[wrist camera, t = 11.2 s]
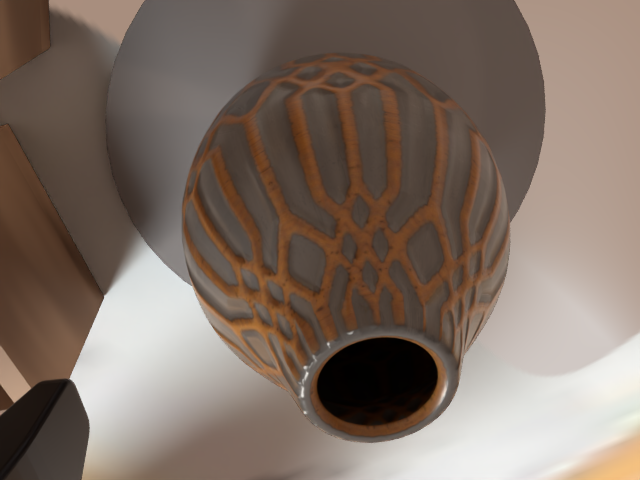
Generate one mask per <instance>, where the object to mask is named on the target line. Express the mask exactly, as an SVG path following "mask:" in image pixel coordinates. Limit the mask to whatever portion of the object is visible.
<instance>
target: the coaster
mask: <svg viewBox="0 0 640 480" xmlns="http://www.w3.org/2000/svg"><path fill="white" fill-rule="evenodd" d="M325 53H356V54H365V55H371V56H376V57H380V58H384V59H387V60H390V61H393V62H396V63H398V64H401V65H403V66H405V67H407V68H410V69H412V70H414V71H415V72H417V73H419V74H420V75H422V76H424V77H425V78H427V79H428V80H430V81H431V82H433V83H434V84H435V85H437V86H438V87H440V88H441V89H442V90H443V91H444V92H445V93H447V94H448V95H449V96H450V97H451V98H452V99H453V100H454V101H455V102H456V103H457V104H458V105H459V106H460V107H461V108H462V109H463V110H464V111H465V112H466V113H467V115H468V116H469V117H470V118H471V120H472V121H473V122H474V124H475V125H476V126H477V127H478V129H479V130H480V132H481V133H482V135H483V136H484V138H485V140H486V142H487V144H488V145H489V147H490V149H491V151H492V154H493V156H494V158H495V161H496V163H497V165H498V168H499V171H500V174H501V177H502V181H503V184H504V188H505V193H506V198H507V203H508V210H509V219H510V222H511V221H512V219H513V218H514V216H515V214H516V213H517V211H518V210H519V207H520V205H521V203H522V201H523V199H524V197H525V195H526V193H527V191H528V189H529V187H530V184H531V181H532V178H533V175H534V173H535V170H536V167H537V164H538V160H539V154H540V150H541V146H542V141H543V134H544V123H545V93H544V80H543V75H542V70H541V65H540V61H539V56H538V53H537V50H536V47H535V44H534V41H533V38H532V36H531V33H530V30H529V27H528V25H527V23H526V22H525V20H524V18H523V16H522V14H521V12H520V10H519V8H518V6H517V5H516V3H515V1H514V0H145V1H144V3H143V4H142V5H141V7H140V9H139V11H138V12H137V14H136V16H135V18H134V19H133V21H132V23H131V25H130V26H129V28H128V30H127V32H126V34H125V36H124V39H123V41H122V44H121V47H120V49H119V52H118V54H117V57H116V59H115V62H114V67H113V71H112V75H111V80H110V84H109V88H108V96H107V108H106V136H107V149H108V154H109V159H110V164H111V169H112V174H113V177H114V180H115V183H116V186H117V189H118V192H119V195H120V197H121V200H122V202H123V204H124V206H125V208H126V210H127V212H128V214H129V216H130V218H131V220H132V222H133V224H134V225H135V227H136V228H137V230H138V231H139V233H140V234H141V236H142V237H143V238H144V240H145V241H146V243H147V244H148V246H149V247H150V248H151V249H152V250H153V251H154V252H155V253H156V255H157V256H158V257H159V258H160V259H161V260H162V261H163V262H164V264H166V265H167V266H168V267H169V268H170V269H171V270H172V271H173V272H175V273H176V274H177V275H178V276H179V277H180V278H181V279H183V280H184V281H185V282H187V283H188V284H190V285H191V286H192V283H191V280H190V276H189V273H188V269H187V265H186V260H185V255H184V249H183V243H182V202H183V196H184V191H185V186H186V181H187V177H188V174H189V170H190V167H191V164H192V162H193V159H194V157H195V154H196V152H197V149H198V147H199V145H200V143H201V141H202V139H203V137H204V135H205V133H206V132H207V130H208V128H209V127H210V125H211V123H212V122H213V120H214V119H215V117H216V116H217V115H218V113H219V112H220V110H221V109H222V108H223V107H224V106H225V105H226V104H227V102H228V101H229V100H230V99H231V98H232V97H233V96H234V95H235V94H236V93H237V92H239V91H240V90H241V89H242V88H244V87H245V86H246V85H247V84H249V83H250V82H252V81H253V80H254V79H256V78H257V77H259V76H261V75H262V74H264V73H266V72H268V71H269V70H271V69H274V68H276V67H278V66H280V65H282V64H285V63H287V62H290V61H293V60H296V59H299V58H303V57H307V56H312V55H318V54H325Z"/></svg>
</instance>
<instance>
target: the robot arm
mask: <svg viewBox="0 0 640 480" xmlns="http://www.w3.org/2000/svg"><path fill="white" fill-rule="evenodd" d="M89 429H90V427H89V419H88V416H87V413H86V411H85V408H84V406H83V403H82V401H81V398H80V396H79V393H78V391H77V388H76V386H75V384H74V382H73V381H72V380H70V379H67V378H64V379H53V380H44V381H41V382H39V383H37V384H36V385H35V386H33V387H32V388H31V389H30V390H29V391H28V392H26V393H25V394H24V395H23V396H22V397H21V398H20V399H18V400H17V401H16V402H15V403H14V404H13V405H12V406H10V407H9V408H8V409H7V410H6V411H5V412H3V413H2V414H1V415H0V480H81V479H82V474H83V468H84V462H85V456H86V450H87V445H88V439H89Z"/></svg>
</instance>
